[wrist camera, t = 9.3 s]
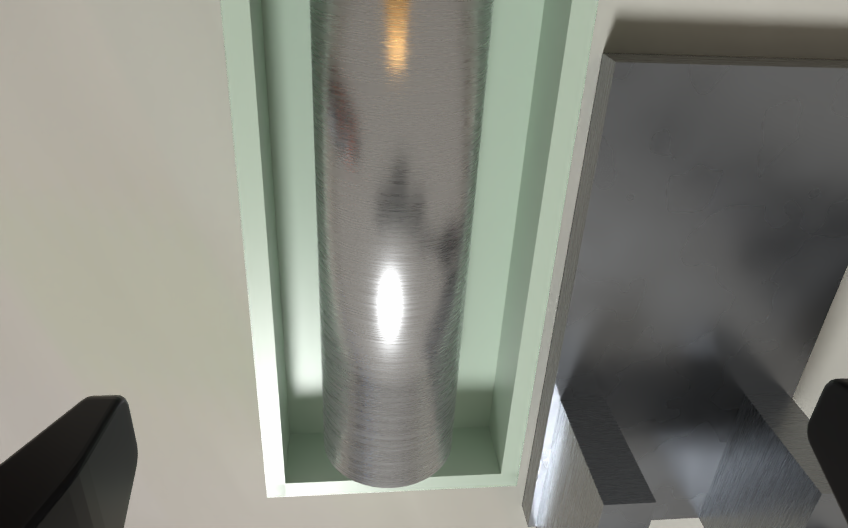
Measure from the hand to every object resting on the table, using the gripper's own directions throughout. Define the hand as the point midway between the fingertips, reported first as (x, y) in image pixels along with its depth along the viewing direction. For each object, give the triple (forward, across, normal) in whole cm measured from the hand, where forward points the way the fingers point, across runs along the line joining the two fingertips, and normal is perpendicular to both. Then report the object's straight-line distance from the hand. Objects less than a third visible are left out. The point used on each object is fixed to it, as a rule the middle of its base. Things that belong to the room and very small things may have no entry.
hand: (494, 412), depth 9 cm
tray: (+12, 0, +2) cm, 12 cm away
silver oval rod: (+11, 0, +2) cm, 11 cm away
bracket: (+12, -10, +7) cm, 17 cm away
